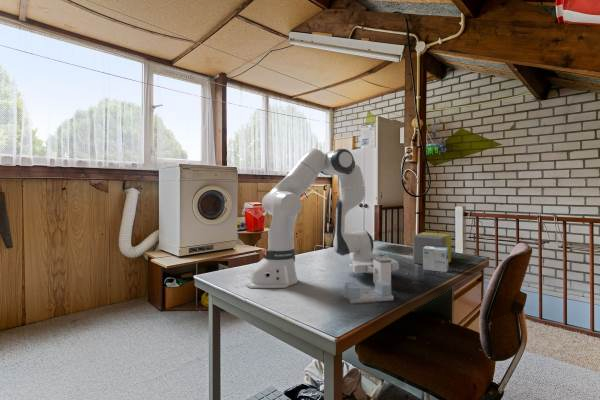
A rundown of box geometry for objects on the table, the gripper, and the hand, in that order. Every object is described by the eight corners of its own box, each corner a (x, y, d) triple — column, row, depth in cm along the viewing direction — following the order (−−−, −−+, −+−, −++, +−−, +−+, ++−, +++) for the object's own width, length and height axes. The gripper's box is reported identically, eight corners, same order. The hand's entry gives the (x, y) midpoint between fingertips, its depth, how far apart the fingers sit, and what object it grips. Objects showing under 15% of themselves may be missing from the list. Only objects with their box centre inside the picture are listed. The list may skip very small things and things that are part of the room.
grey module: (380, 287, 124) (380, 260, 124) (373, 282, 131) (373, 256, 131) (391, 286, 125) (391, 259, 125) (383, 281, 132) (383, 256, 132)
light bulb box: (448, 269, 151) (448, 247, 151) (446, 272, 145) (446, 249, 145) (425, 266, 157) (425, 245, 156) (422, 269, 151) (422, 247, 151)
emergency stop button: (455, 259, 172) (456, 232, 171) (442, 268, 154) (442, 238, 153) (428, 255, 182) (428, 230, 181) (412, 263, 163) (412, 235, 163)
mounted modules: (350, 298, 109) (350, 288, 109) (344, 292, 115) (344, 283, 114) (391, 294, 112) (391, 285, 112) (383, 289, 118) (383, 280, 117)
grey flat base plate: (351, 303, 107) (351, 299, 107) (342, 295, 116) (342, 291, 116) (393, 300, 111) (393, 295, 111) (382, 292, 119) (382, 288, 119)
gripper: (347, 257, 139) (359, 264, 125) (389, 254, 143) (405, 261, 129) (347, 271, 139) (359, 280, 125) (389, 268, 143) (405, 276, 129)
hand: (382, 270), depth 127 cm, fingers closed on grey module, 4 cm apart
